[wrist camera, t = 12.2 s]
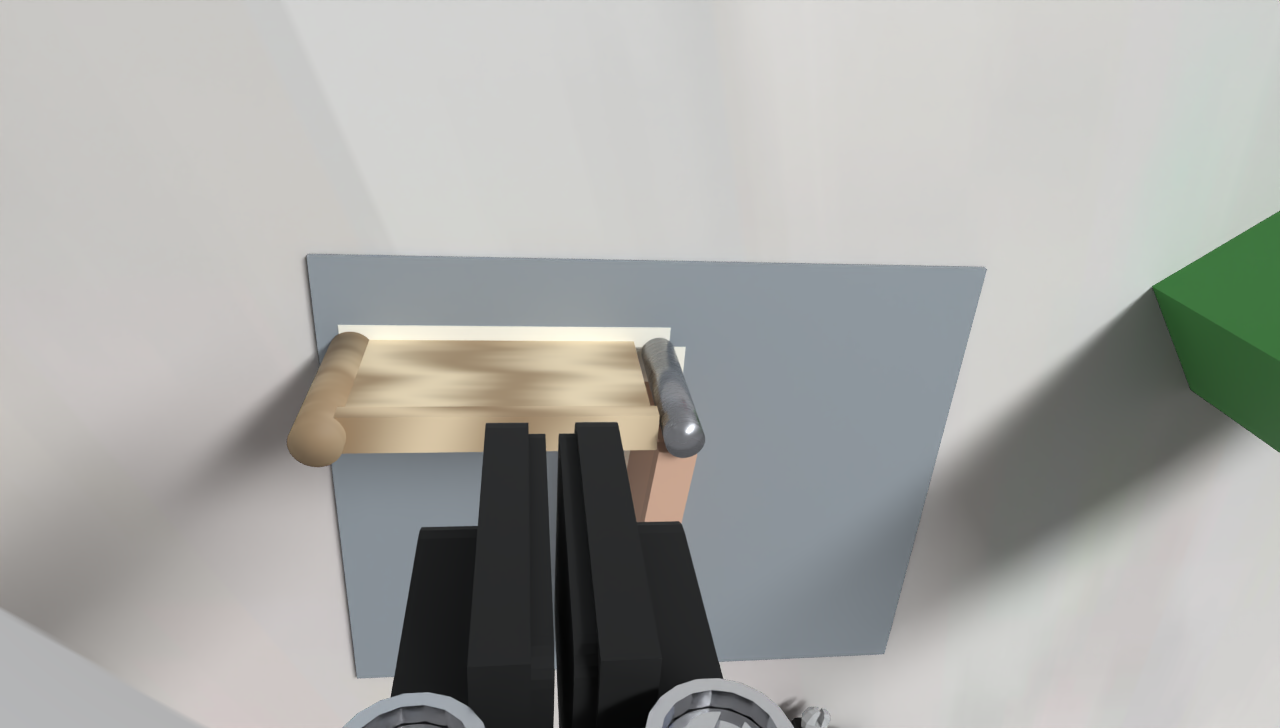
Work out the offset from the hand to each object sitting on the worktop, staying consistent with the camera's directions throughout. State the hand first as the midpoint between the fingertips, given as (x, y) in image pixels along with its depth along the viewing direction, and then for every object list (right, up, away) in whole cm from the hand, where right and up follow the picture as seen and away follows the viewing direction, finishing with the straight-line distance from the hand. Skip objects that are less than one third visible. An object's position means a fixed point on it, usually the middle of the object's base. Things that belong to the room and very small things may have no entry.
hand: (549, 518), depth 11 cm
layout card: (+1, -4, +33) cm, 34 cm away
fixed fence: (-5, +3, +28) cm, 29 cm away
